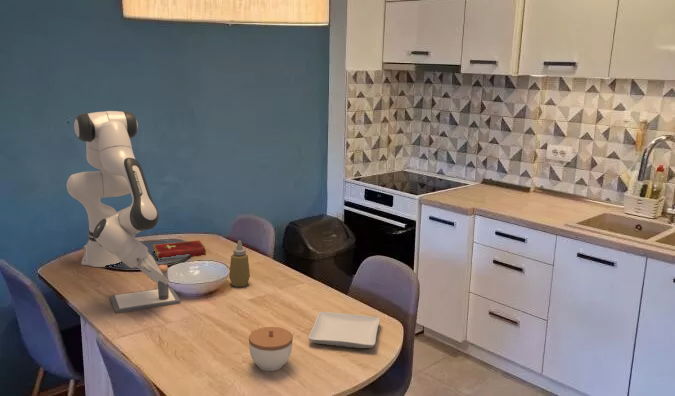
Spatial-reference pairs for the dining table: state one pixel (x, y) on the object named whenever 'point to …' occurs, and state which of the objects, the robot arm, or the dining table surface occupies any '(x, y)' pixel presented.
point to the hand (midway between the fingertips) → (164, 277)
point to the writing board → (142, 300)
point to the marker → (163, 284)
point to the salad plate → (345, 330)
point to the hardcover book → (180, 249)
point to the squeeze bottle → (239, 267)
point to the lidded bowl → (270, 347)
